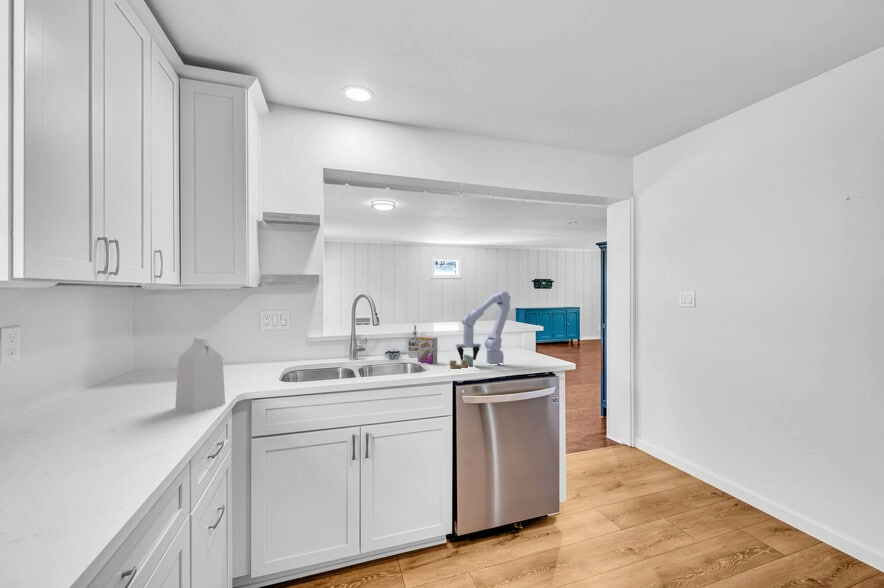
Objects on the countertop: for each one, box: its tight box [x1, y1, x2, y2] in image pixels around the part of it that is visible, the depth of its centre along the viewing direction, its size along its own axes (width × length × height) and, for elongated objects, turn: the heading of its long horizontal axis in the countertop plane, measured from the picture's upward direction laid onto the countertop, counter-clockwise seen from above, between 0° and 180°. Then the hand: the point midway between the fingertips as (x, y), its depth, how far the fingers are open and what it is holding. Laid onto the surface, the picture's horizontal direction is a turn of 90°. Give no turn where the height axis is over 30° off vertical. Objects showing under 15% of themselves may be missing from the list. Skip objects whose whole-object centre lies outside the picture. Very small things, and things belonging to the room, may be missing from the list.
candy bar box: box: [417, 335, 438, 365], centre depth 224 cm, size 11×5×16 cm, turn 58°
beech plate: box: [449, 359, 468, 369], centre depth 206 cm, size 10×2×5 cm, turn 107°
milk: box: [174, 337, 226, 414], centre depth 142 cm, size 12×12×26 cm
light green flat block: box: [463, 353, 474, 367], centre depth 215 cm, size 2×10×6 cm, turn 17°
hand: (468, 360), depth 215 cm, fingers open, 7 cm apart
